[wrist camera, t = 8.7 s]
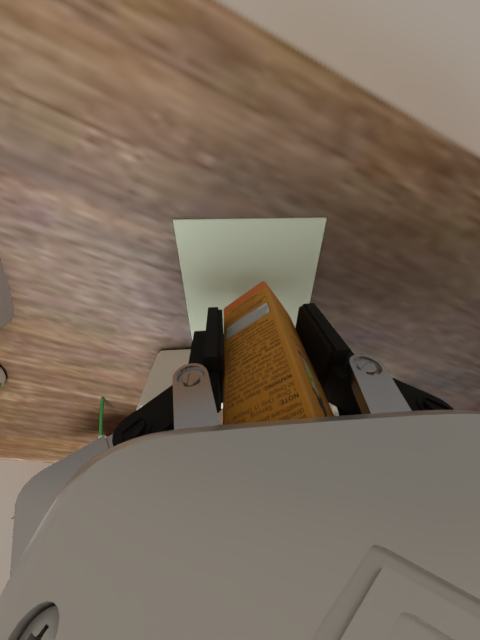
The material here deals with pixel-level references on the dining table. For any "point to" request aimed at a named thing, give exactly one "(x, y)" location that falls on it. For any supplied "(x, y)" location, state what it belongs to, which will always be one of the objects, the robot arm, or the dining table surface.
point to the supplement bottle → (2, 377)
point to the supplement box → (266, 364)
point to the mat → (246, 261)
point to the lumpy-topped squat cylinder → (5, 299)
